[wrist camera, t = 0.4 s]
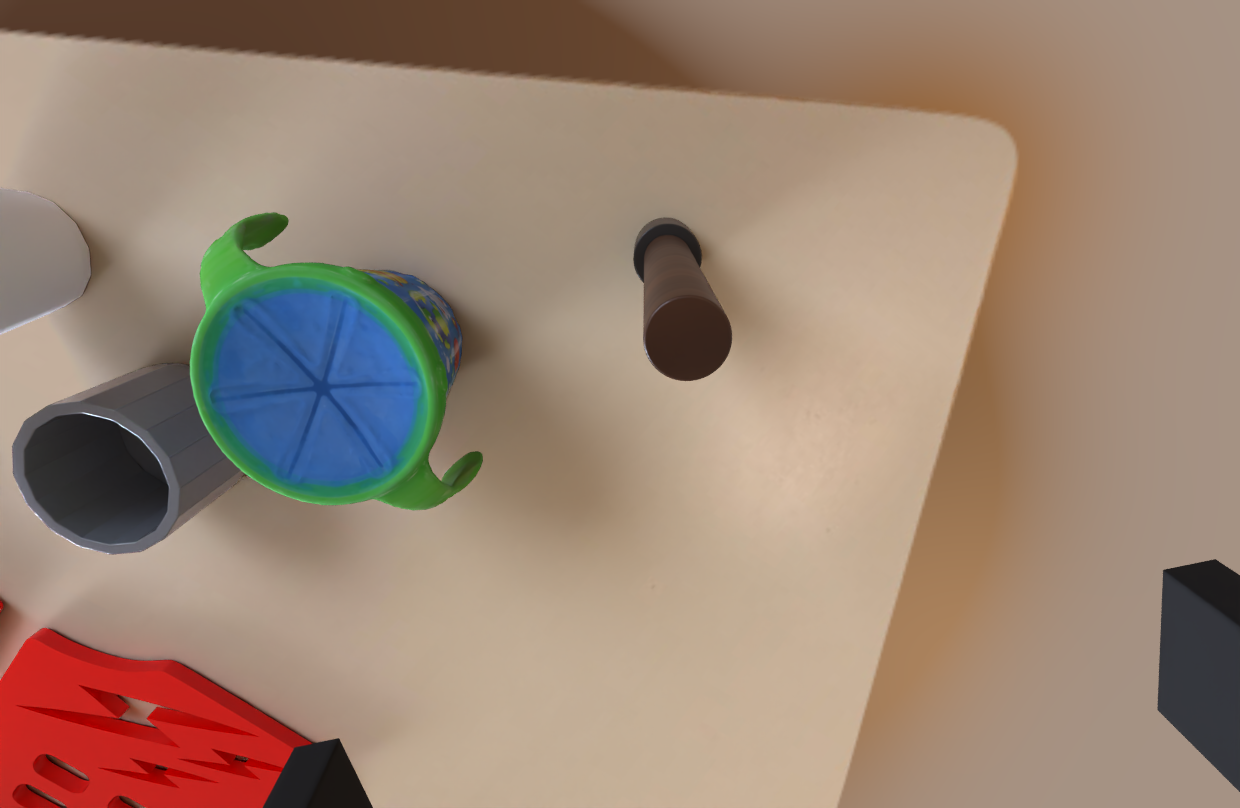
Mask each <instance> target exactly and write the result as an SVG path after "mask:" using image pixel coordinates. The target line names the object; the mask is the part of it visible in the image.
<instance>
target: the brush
mask: <svg viewBox="0 0 1240 808" xmlns="http://www.w3.org/2000/svg"><path fill="white" fill-rule="evenodd" d="M633 259H634V267H635V270H636V273H637V275H638V276H639V278H640V279H641V280H642V282H643V283H644V327H643V340H644V348H645V352H646V355H647V357H648V359H649V360H650V362H651V363H652V365H653V366H654V367H655V368H656V369H657V370H658V371H659V372H661V373H662V374H664V375H665V376H667V377H669V378H672V379H675V380H680V381H693V380H698V379H701V378H704V377H706V376H708V375H710V374H712V373H713V372H714V371H716V370H717V369H718V368H719V367H720V366H721V365H722V364H723V362H724V361H725V359H726V358H727V356H728V354H729V351H730V348H731V343H732V330H731V326H730V322H729V320H728V318H727V316H726V314H725V312H724V310H723V309H722V307H721V305H720V303H719V301H718V300H717V298H716V296H715V294H714V292H713V291H712V289H711V287H710V285H709V283H708V282H707V280H706V278H705V276H704V274H703V272H702V271H701V269H700V266H701V260H702V254H701V249H700V245H699V243H698V241H697V239H696V238H695V236H694V235H693V233H692V232H691V231H690V229H689V228H688V227H687V226H686V225H685V224H683V223H682V222H680V221H679V220H676V219H673V218H659V219H655V220H653V221H651V222H649V223H648V224H646V225H645V226H644V227H643V228H642V230H641V231H640V232H639V234H638V236H637V239H636V242H635V248H634V258H633Z"/></svg>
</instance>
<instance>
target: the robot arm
mask: <svg viewBox="0 0 1240 808" xmlns="http://www.w3.org/2000/svg"><path fill="white" fill-rule="evenodd" d="M1161 616H1162V617H1161V638H1160V640H1161V641H1160V663H1159V688H1158V711H1159V712H1160V713H1161V714H1162V715H1163V716H1164V717H1165V718H1166V719H1167V720H1168V721H1169V722H1170V723H1171V724H1172V725H1173V726H1174V727H1175V728H1176V729H1177V730H1178V731H1179V732H1180V733H1181V734H1182V735H1183V736H1185V738H1186V739H1187V740H1188V741H1189V742H1190V743H1191V744H1192V745H1193V746H1194V747H1195V748H1196V749H1197V750H1198V751H1199V752H1200V753H1201V754H1202V755H1203V756H1204V757H1205V758H1206V759H1207V760H1208V761H1210V762H1211V764H1212V765H1214V767H1215V768H1216V769H1217V770H1219V772H1220V773H1221V774H1222V775H1223V776H1224V777H1225V778H1226V779H1227V780H1229V782H1230V783H1231V784H1232V785H1233V786H1234V787H1235V788H1236V789H1237V790H1239V792H1240V575H1238V574H1237V573H1235V572H1234V571H1232V570H1231V569H1229V568H1228V567H1226V566H1225V565H1223V564H1222V563H1220V562H1219V561H1217V560H1216V559H1215V560H1210V561H1205V562H1200V563H1195V564H1190V565H1185V566H1180V567H1175V568H1171V569H1166V570H1163V589H1162V614H1161ZM263 808H373V807H372V805H371V803H370V801H369V799H368V797H367V795H366V793H365V791H364V788H363V786H362V784H361V782H360V780H359V778H358V776H357V774H356V772H355V770H354V768H353V766H352V764H351V762H350V760H349V758H348V756H347V754H346V752H345V750H344V748H343V746H342V743H341V741H340V739H339V738H338V739H333V740H328V741H323V742H318V743H313V744H308V745H304V746H299V747H294V749H293V751H292V753H291V755H290V757H289V759H288V760H287V762H286V764H285V766H284V768H283V770H282V772H281V774H280V776H279V777H278V779H277V781H276V783H275V785H274V787H273V789H272V791H271V793H270V794H269V796H268V798H267V800H266V802H265V804H264V806H263Z"/></svg>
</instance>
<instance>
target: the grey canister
mask: <svg viewBox="0 0 1240 808" xmlns="http://www.w3.org/2000/svg"><path fill="white" fill-rule="evenodd" d="M12 458H13V474H14V475H13V476H14V478H15V480H16V482H17V485H18V487H19V489H20V491H21V493H22V496H23V498H24V500H25V502H26V503H27V505H28V506H29V507H30V508H31V509H32V510H33V512H34V513H35V514H36V515H37V516H38V517H39V518H40V519H41V520H42V521H43V522H44V523H45V525H46V526H47V527H48V528H50V529H51V530H52V531H54V532H55V533H57V534H59V535H60V536H62V537H64V538H65V539H67V540H69V541H70V542H72V543H74V544H75V545H77V546H80V547H82V548H86V549H90V550H94V551H98V552H103V553H107V554H112V555H113V554H124V553H134V552H141V551H144V550H146V549H148V548H149V547H151V546H153V545H155V544H156V543H158V542H160V541H162V540H163V539H165V538H166V537H168V536H169V535H170V534H172V533H173V532H174V531H175V530H177V529H178V528H179V527H181V526H182V525H183V524H184V523H186V522H187V521H188V520H190V519H191V518H192V517H194V516H195V515H196V514H197V513H199V512H200V511H201V510H203V509H204V508H205V507H207V506H208V505H209V504H210V503H212V502H213V501H214V500H216V499H217V498H218V497H219V496H221V495H222V494H223V493H225V492H226V491H227V490H229V489H230V488H231V487H232V486H234V485H235V484H236V483H237V481H238V480H239V479H240V478H242V477H243V475H244V474H245V473H244V472H242V471H241V470H240V469H239V468H238V467H237V466H236V465H235V464H234V463H233V462H232V461H231V460H230V459H229V458H228V457H227V456H226V455H225V454H224V453H223V452H222V451H221V449H220V448H219V446H218V445H217V444H216V442H215V441H214V439H213V438H212V436H211V435H210V433H209V432H208V430H207V428H206V426H205V425H204V423H203V421H202V418H201V416H200V414H199V410H198V407H197V405H196V402H195V398H194V394H193V388H192V384H191V378H190V366H189V365H184V364H177V363H162V364H157V365H152V366H149V367H145V368H141V369H138V370H136V371H133V372H131V373H128V374H125V375H123V376H120V377H118V378H115V379H113V380H110V381H108V382H105V383H103V384H100V385H98V386H95V387H93V388H90V389H88V390H85V391H83V392H80V393H78V394H75V395H73V396H70V397H68V398H65V399H63V400H60V401H58V402H55V403H52V404H50V405H48V406H46V407H45V408H43V409H42V410H40V411H38V412H37V413H35V414H34V415H32V416H31V417H29V418H28V419H26V420H25V421H24V423H23V425H22V427H21V429H20V431H19V433H18V435H17V437H16V439H15V441H14V443H13V446H12Z"/></svg>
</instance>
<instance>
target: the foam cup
mask: <svg viewBox="0 0 1240 808" xmlns="http://www.w3.org/2000/svg"><path fill="white" fill-rule="evenodd" d="M90 276H91V266H90V253H89V248H88V246H87V244H86V242H85V240H84V238H83V236H82V234H81V232H80V230H79V228H78V226H77V224H76V223H75V222H74V221H73V220H72V219H71V218H70V217H69V216H68V215H67V214H66V213H65V212H64V211H62V210H61V209H60V208H59V207H58V206H57V205H56V204H55V203H54V202H52V201H49V200H47V199H45V198H42V197H40V196H37V195H35V194H32V193H30V192H27V191H18V190H15V189H6V188H0V335H1V334H3V333H5V332H8V331H10V330H12V329H15V328H17V327H19V326H22V325H24V324H26V323H29V322H31V321H33V320H36V319H38V318H40V317H43V316H45V315H47V314H50V313H52V312H54V311H56V310H58V309H59V308H63V307H65V306H66V305H68V304H69V303H71V302H73V301H74V300H76V299H77V298H79V297H80V296H82V294H83V292H84V290H85V287H86V285H87V283H88V281H89V279H90Z"/></svg>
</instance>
